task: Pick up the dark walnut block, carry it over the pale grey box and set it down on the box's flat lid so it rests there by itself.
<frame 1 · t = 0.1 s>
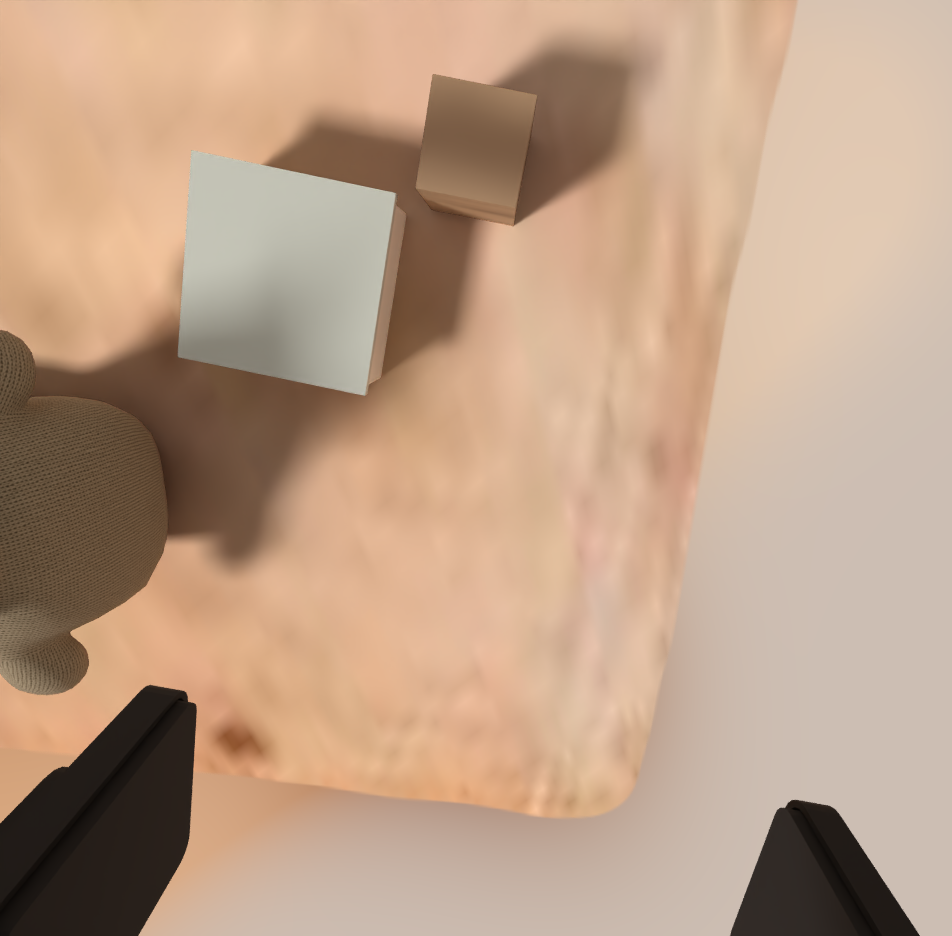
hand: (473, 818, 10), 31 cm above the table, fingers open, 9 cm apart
pale grey box: (315, 282, 38), on the table
walnut block: (480, 173, 36), on the table
bear: (77, 476, 42), on the table
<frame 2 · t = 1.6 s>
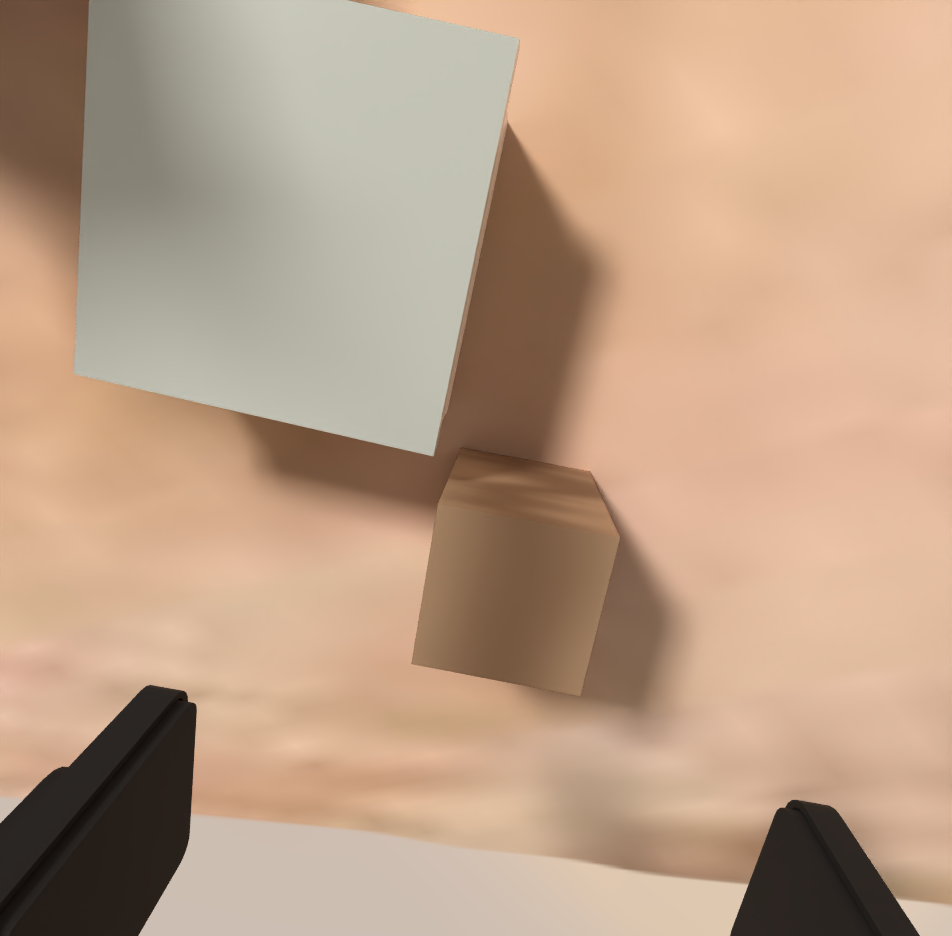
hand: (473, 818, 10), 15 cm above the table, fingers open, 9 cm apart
pale grey box: (340, 245, 22), on the table
walnut block: (513, 520, 24), on the table
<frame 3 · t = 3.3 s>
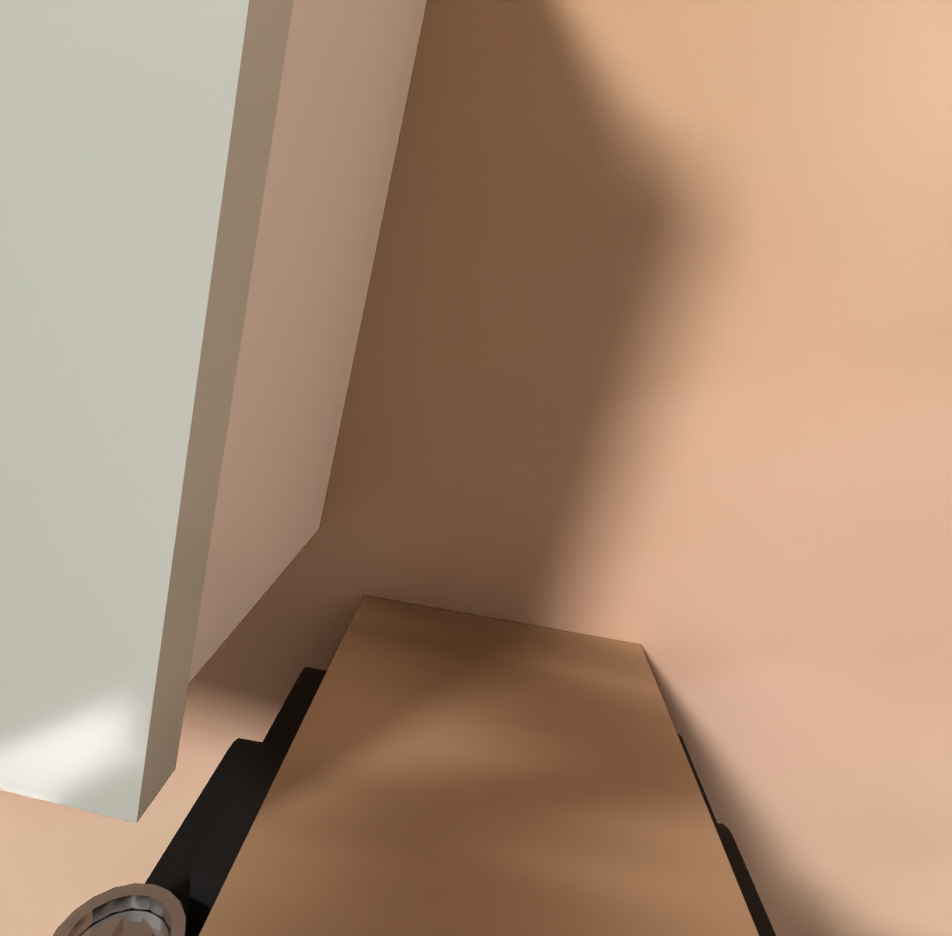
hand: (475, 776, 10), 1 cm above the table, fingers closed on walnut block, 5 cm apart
pale grey box: (65, 144, 9), on the table
walnut block: (478, 737, 11), on the table, touching gripper
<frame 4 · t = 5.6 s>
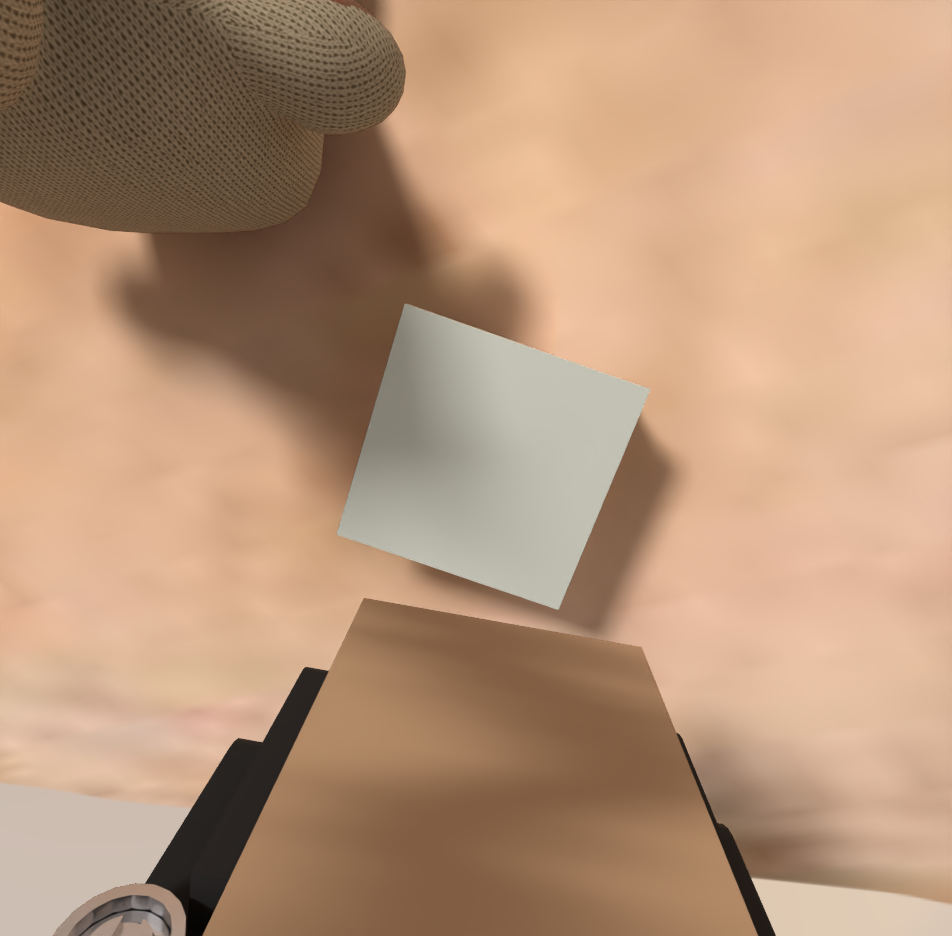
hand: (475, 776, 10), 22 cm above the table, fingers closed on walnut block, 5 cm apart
pale grey box: (491, 437, 32), on the table
walnut block: (478, 739, 11), point 21 cm above the table, touching gripper
bear: (215, 60, 28), on the table
when the fingers open (8 cm above the table, at t = 8.0 s): walnut block drops 1 cm, resting on pale grey box.
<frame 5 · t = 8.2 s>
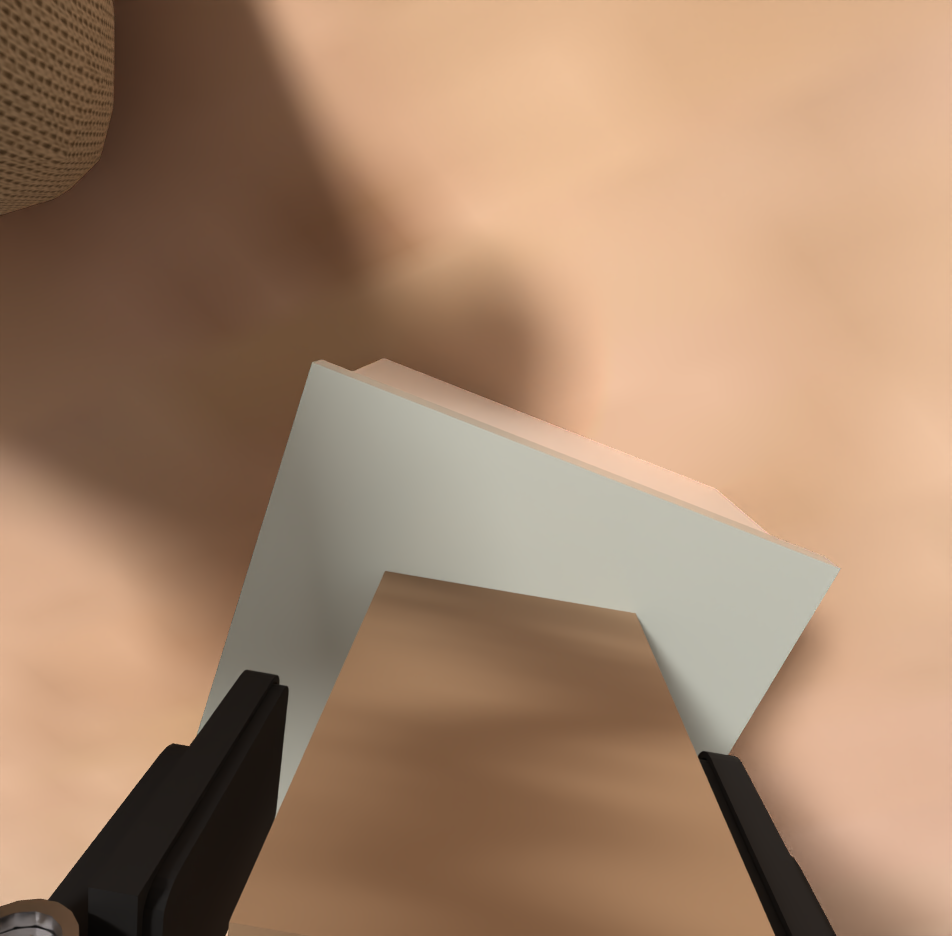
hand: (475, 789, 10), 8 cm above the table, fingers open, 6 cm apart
pale grey box: (487, 573, 18), on the table, touching walnut block
walnut block: (489, 699, 13), point 6 cm above the table, touching pale grey box
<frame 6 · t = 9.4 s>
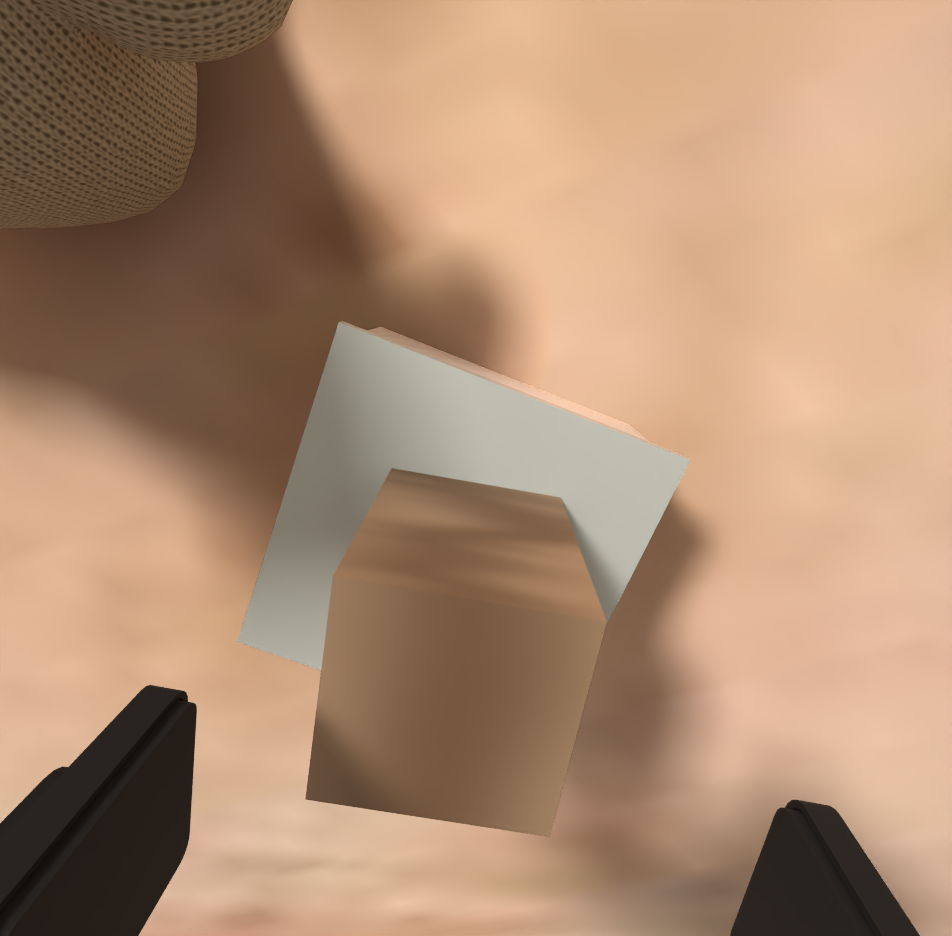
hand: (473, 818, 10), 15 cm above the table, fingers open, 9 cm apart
pale grey box: (460, 493, 24), on the table, touching walnut block
walnut block: (462, 560, 18), point 6 cm above the table, touching pale grey box
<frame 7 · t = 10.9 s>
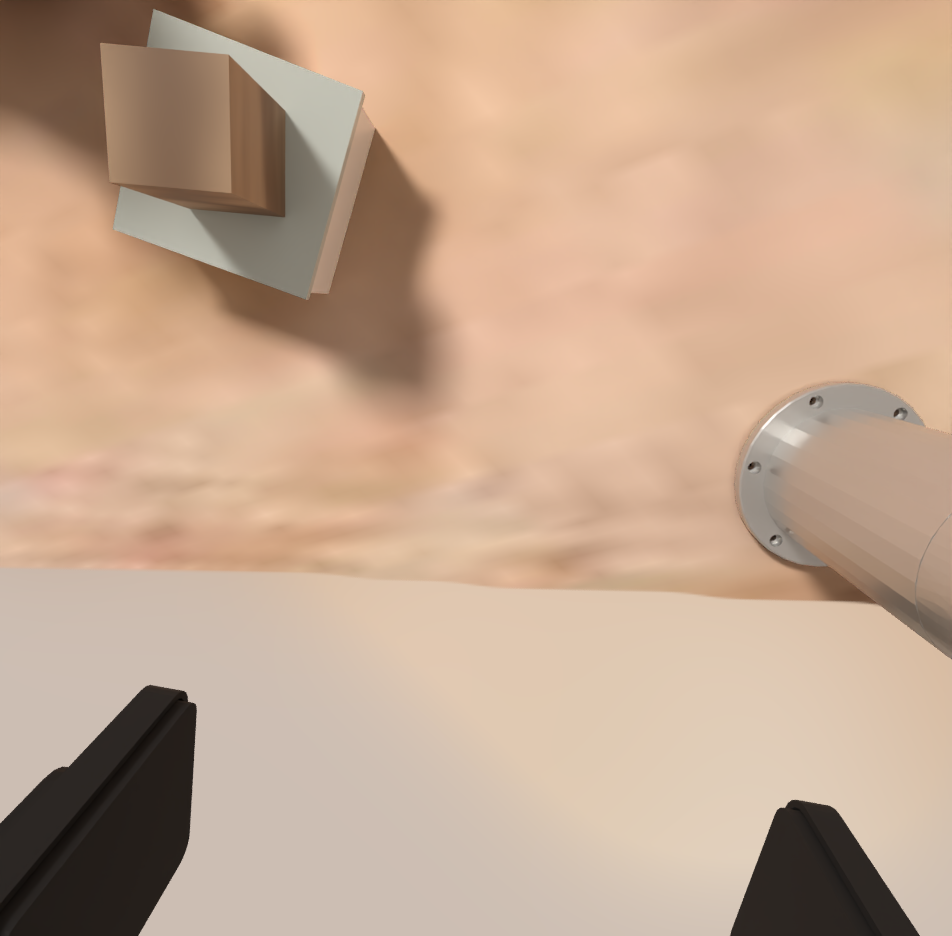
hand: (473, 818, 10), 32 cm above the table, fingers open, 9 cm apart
pale grey box: (273, 184, 37), on the table, touching walnut block
walnut block: (236, 160, 31), point 6 cm above the table, touching pale grey box
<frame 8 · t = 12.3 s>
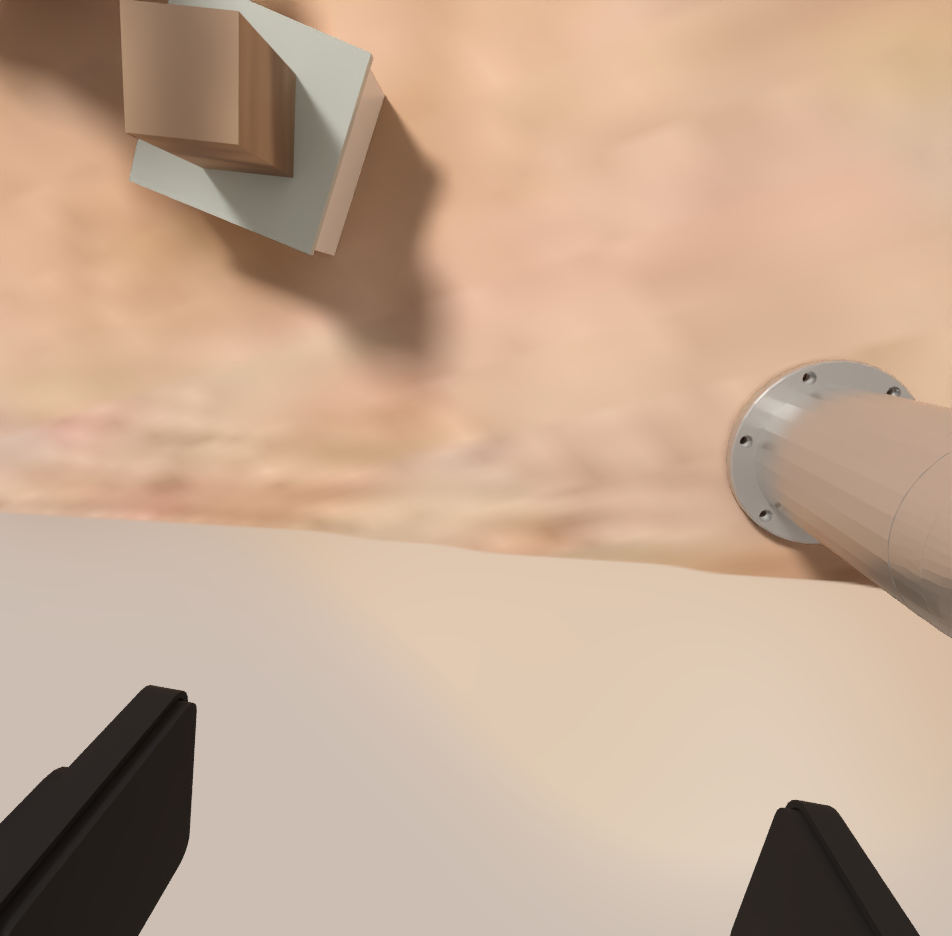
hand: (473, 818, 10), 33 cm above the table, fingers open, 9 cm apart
pale grey box: (285, 147, 38), on the table, touching walnut block
walnut block: (248, 122, 32), point 6 cm above the table, touching pale grey box
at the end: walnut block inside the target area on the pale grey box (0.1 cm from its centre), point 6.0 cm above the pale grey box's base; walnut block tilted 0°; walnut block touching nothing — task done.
